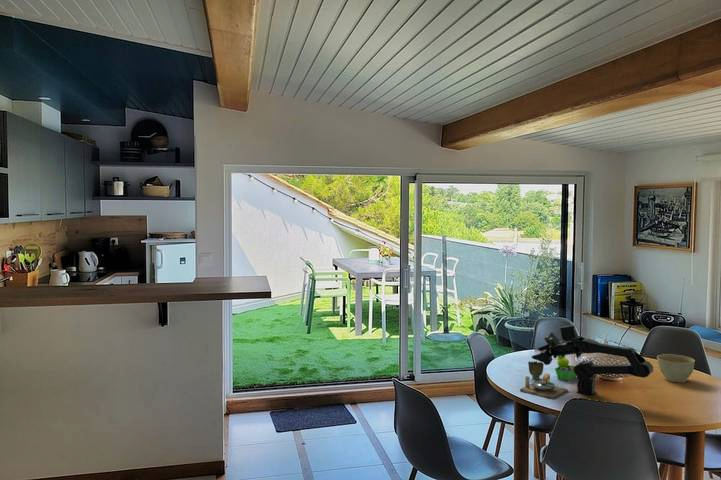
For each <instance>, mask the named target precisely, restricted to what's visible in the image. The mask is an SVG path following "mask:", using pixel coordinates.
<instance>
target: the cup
mask: <svg viewBox="0 0 721 480" xmlns="http://www.w3.org/2000/svg"><path fill="white" fill-rule="evenodd" d="M527 364H528V372H529V374H530V375H531V377H532V379H533V380H539V379H540V378H541V377H540V376H542V375H543V372H544V365H545V364H544V363H543V362H541V361H538V360H536V361H535V360H534V361H533V360H532V361H528V363H527Z"/></svg>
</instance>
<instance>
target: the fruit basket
mask: <svg viewBox="0 0 721 480" xmlns="http://www.w3.org/2000/svg"><path fill="white" fill-rule="evenodd" d="M575 366H576V365H571V364H570V361H569V359H568V358H567V357H566V356H565V357H562V356H557V367H555V368H554V370H555V373H556V376H557V380H558V379H559V380H563V381H571V380H572V379H576V378H577V375H576V374H575V373H574V367H575Z"/></svg>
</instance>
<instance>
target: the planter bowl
mask: <svg viewBox="0 0 721 480" xmlns="http://www.w3.org/2000/svg"><path fill="white" fill-rule="evenodd" d="M656 359H657V366H658V368H659V371H660V373H661V374H662V376H663V377H664V378H663V379H664V380H666V381H669V382H671V383H686V382H688V381H687V380H688V379H689V378H690V376H691V375H692V374H693V371H694V368H695V363H696V360H695V359H694V358H693V357H691V356H690V357H689V356H685V355H679V354H672V353H671V354H669V353H663V354H659V355H657V356H656Z"/></svg>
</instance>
